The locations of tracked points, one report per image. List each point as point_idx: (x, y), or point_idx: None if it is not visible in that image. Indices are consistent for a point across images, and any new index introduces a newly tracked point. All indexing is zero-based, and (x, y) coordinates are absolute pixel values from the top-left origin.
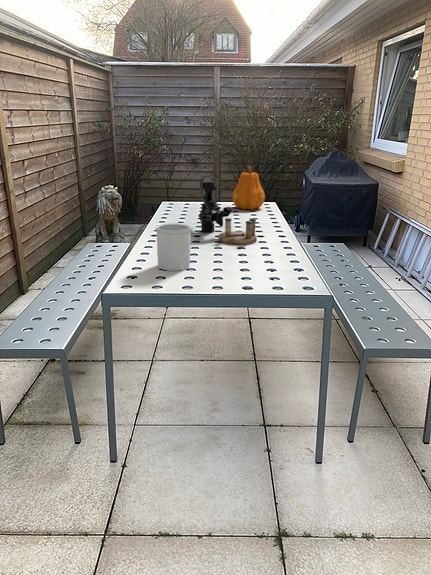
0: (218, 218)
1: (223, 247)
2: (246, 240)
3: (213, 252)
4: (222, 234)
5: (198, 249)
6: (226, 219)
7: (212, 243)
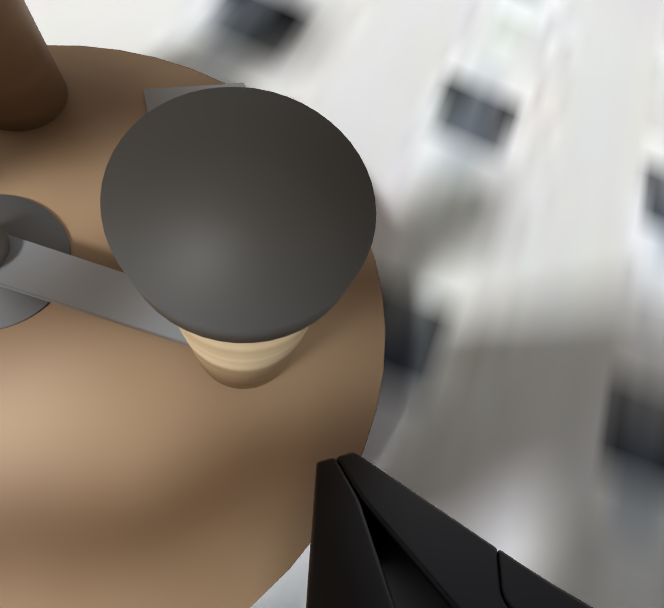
0: (534, 580)
1: (419, 110)
2: (105, 56)
3: (549, 24)
4: (287, 478)
5: (653, 150)
6: (353, 153)
7: (481, 297)
